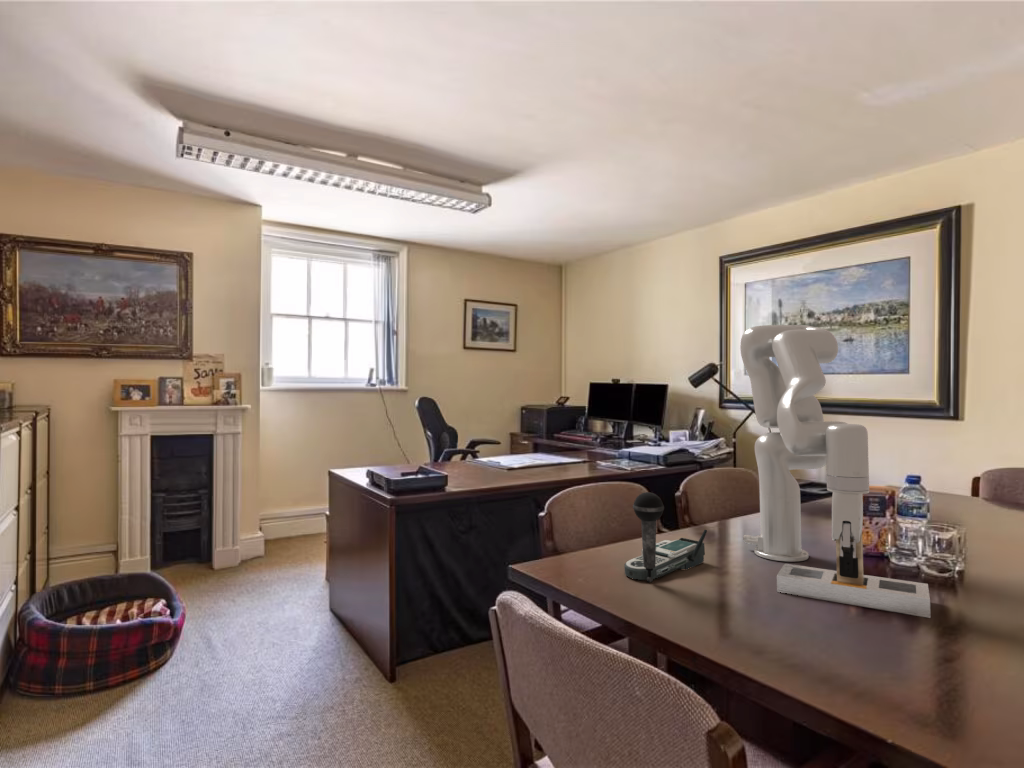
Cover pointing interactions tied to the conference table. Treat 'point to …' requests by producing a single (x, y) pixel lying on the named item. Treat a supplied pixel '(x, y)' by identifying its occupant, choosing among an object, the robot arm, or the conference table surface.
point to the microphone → (648, 526)
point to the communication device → (668, 558)
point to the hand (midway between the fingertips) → (849, 572)
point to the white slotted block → (856, 590)
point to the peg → (860, 563)
